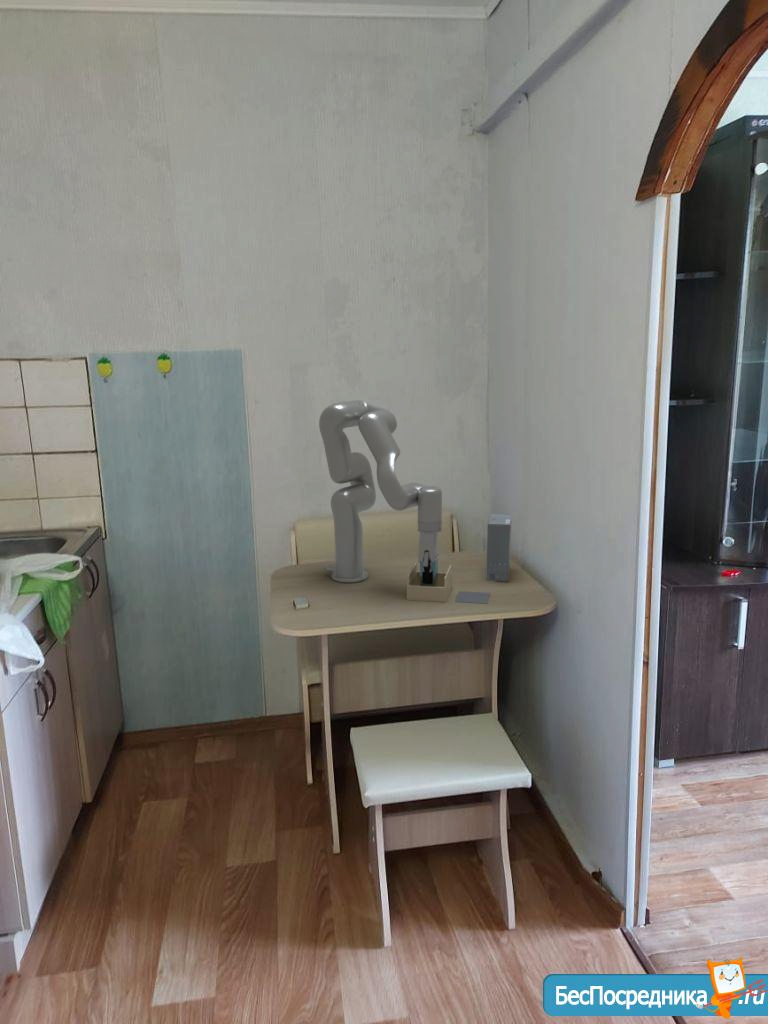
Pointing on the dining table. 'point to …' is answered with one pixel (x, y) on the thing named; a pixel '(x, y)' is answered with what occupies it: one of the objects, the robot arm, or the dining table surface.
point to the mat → (472, 597)
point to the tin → (434, 570)
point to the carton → (425, 591)
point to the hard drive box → (498, 547)
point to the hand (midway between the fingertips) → (428, 580)
